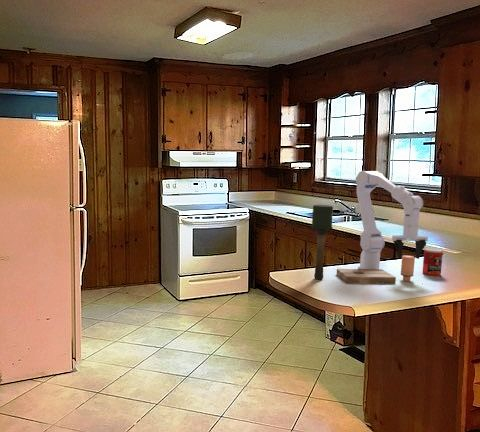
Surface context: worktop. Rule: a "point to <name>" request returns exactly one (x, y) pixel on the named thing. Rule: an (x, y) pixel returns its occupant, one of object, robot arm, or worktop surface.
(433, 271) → the canned food
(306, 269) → the worktop surface
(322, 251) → the potato masher grenade
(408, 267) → the peg
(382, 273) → the board
